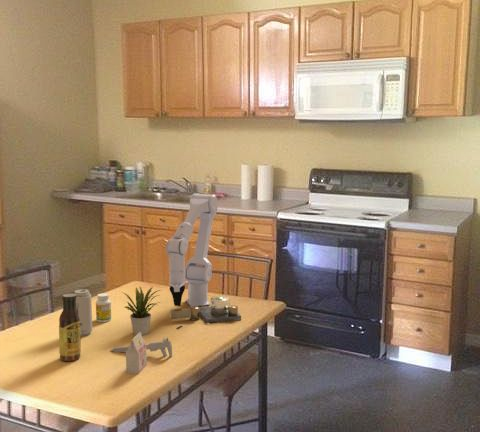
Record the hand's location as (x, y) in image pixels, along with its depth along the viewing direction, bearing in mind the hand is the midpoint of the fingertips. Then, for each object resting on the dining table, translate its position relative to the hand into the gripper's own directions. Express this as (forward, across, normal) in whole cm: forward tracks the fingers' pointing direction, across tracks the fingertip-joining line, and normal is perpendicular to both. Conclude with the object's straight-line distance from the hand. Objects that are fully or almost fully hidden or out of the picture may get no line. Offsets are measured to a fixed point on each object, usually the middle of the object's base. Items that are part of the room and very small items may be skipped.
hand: (177, 305), depth 217 cm
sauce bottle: (+4, -39, +32) cm, 50 cm away
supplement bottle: (+4, -4, +27) cm, 27 cm away
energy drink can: (+4, -17, +32) cm, 36 cm away
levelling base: (+4, -5, -10) cm, 12 cm away
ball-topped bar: (+3, -6, -3) cm, 7 cm away
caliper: (+4, -37, +11) cm, 39 cm away
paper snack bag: (+4, -48, +11) cm, 50 cm away
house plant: (+4, -18, +11) cm, 22 cm away
